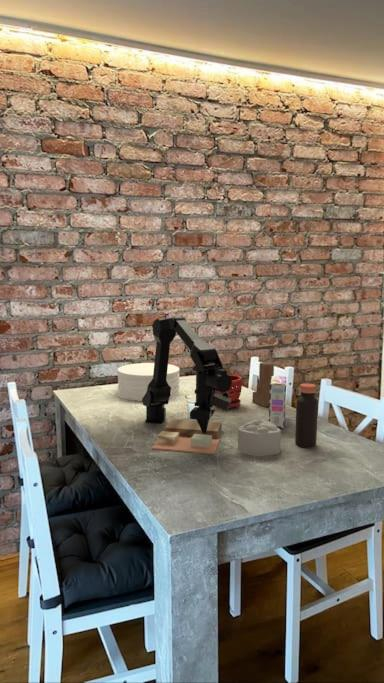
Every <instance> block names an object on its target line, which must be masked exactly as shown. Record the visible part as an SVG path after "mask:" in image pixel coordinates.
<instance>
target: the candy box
mask: <svg viewBox="0 0 384 683" xmlns="http://www.w3.org/2000/svg"><path fill="white" fill-rule="evenodd" d="M286 397H287V376H281V375H274V376H272V378H271V383H270V401H269V406H268V407H269V409H268V422H271V423H272V424H274V425H276V427H277V428H279V429H285V424H286Z"/></svg>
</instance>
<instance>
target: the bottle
mask: <svg viewBox="0 0 384 683" xmlns="http://www.w3.org/2000/svg"><path fill="white" fill-rule="evenodd" d="M299 387H300V388H299V391H300V392H299V393H300V396H299V397H297V399H296V409H295V412H296V413H295V431H294V432H295V434H294V436H295V438H294V444H295V445H296V446H298V447H300V448H306V449H309V448H310V449H311V448H315V447H316V446H317V439H318V438H317V436H318V417H319V416H318V411H319V401H318V399H317V398H316V396H315V395H316V391H317V390H316V388H317V387H316V384H313V383H301V384H299Z"/></svg>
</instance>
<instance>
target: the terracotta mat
mask: <svg viewBox="0 0 384 683" xmlns="http://www.w3.org/2000/svg"><path fill="white" fill-rule="evenodd" d="M220 442H221V439H219V438H218V439H212V443H211V445H210V447H209V448H204V447H194V446H191V437H184V436H179V441H178V442H177V443H176V445H170V444H160V443H157V441H156V442H155V443H154V444H153V445H152V447H151V450H157V451H172V452H182V453H195V454H209V455H215V453H216V452H217V449H218V447H219V444H220Z"/></svg>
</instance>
